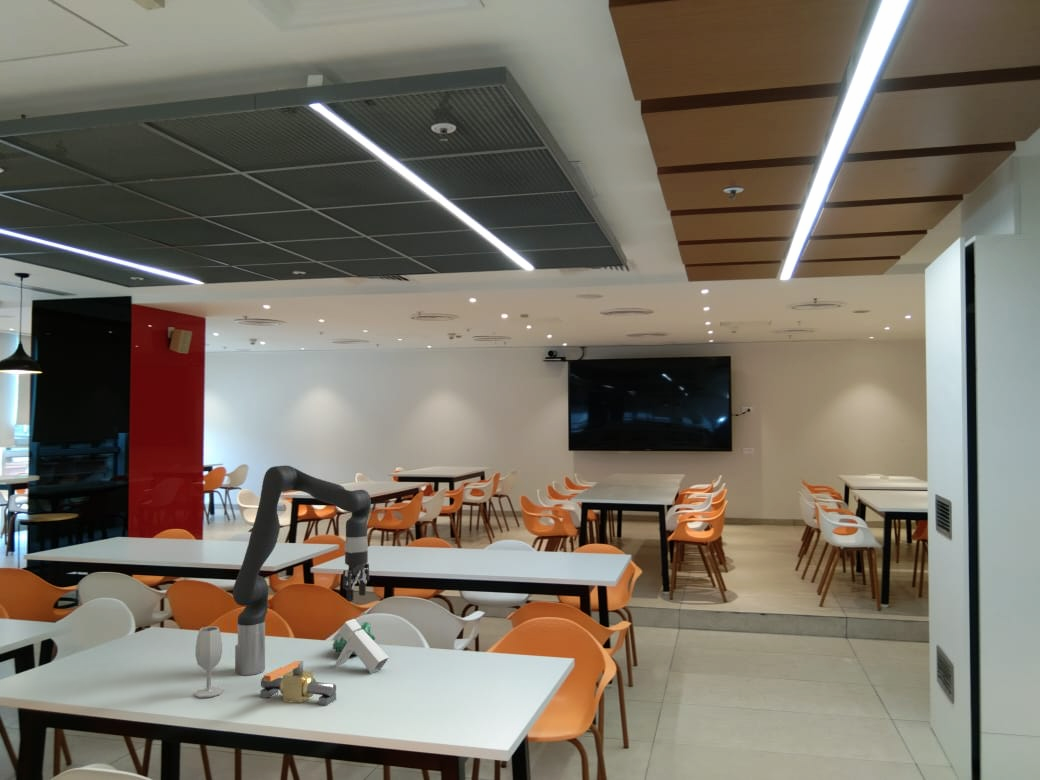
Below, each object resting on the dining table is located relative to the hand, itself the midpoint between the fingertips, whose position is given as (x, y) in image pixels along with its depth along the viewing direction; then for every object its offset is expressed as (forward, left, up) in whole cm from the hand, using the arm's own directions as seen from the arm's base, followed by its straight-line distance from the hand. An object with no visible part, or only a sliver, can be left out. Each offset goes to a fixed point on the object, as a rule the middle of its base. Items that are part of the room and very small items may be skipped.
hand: (356, 598), depth 252 cm
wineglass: (-42, -22, -29) cm, 56 cm away
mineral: (-21, +32, -29) cm, 48 cm away
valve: (-11, -17, -29) cm, 35 cm away
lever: (-11, -24, -20) cm, 33 cm away
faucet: (-8, +15, -29) cm, 34 cm away
